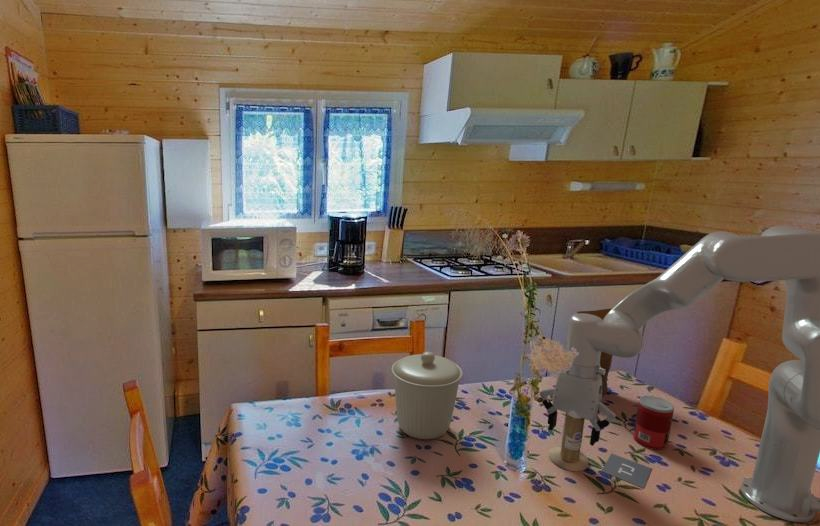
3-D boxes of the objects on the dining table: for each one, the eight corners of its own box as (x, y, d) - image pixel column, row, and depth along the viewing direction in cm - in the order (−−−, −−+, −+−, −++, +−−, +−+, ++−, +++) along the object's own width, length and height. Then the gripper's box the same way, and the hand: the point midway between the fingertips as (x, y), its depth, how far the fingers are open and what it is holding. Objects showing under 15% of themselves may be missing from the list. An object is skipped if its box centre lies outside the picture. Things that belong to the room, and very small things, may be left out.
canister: (471, 439, 118) (478, 361, 114) (406, 455, 110) (411, 372, 106) (437, 405, 134) (441, 336, 130) (378, 417, 126) (381, 343, 122)
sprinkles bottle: (569, 465, 109) (576, 412, 106) (555, 454, 113) (562, 403, 110) (583, 460, 111) (591, 409, 108) (569, 450, 115) (576, 399, 112)
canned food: (671, 452, 117) (678, 412, 115) (637, 447, 119) (643, 407, 116) (661, 435, 124) (668, 397, 122) (629, 431, 126) (635, 393, 124)
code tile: (651, 468, 110) (651, 468, 110) (643, 488, 103) (643, 488, 103) (611, 453, 115) (611, 453, 115) (601, 471, 108) (601, 470, 108)
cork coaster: (593, 458, 113) (593, 456, 113) (581, 476, 106) (581, 474, 106) (556, 443, 118) (556, 441, 118) (543, 460, 111) (543, 458, 111)
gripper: (624, 373, 105) (614, 442, 109) (550, 352, 115) (542, 416, 119) (616, 385, 99) (606, 457, 103) (538, 362, 109) (531, 428, 113)
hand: (572, 435), depth 111 cm, fingers open, 9 cm apart
